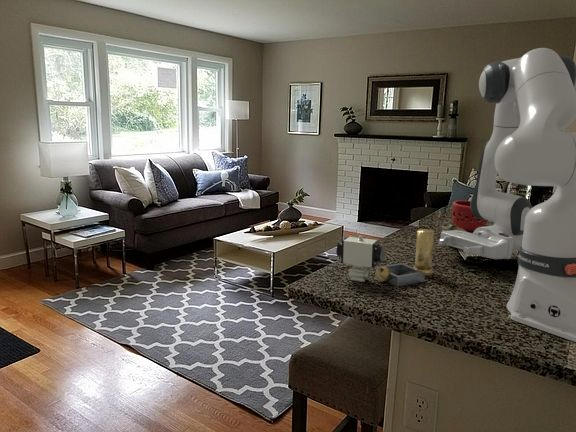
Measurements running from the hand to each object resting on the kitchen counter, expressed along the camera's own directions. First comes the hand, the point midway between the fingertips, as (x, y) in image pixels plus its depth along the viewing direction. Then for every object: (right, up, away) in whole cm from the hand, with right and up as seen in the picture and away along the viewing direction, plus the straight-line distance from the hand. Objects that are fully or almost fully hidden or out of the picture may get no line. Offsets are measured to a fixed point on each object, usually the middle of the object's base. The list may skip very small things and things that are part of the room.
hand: (452, 246), depth 126 cm
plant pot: (+21, +1, +41) cm, 46 cm away
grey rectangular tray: (-17, -8, -8) cm, 20 cm away
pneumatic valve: (-28, -8, -8) cm, 30 cm away
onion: (+10, -2, +23) cm, 25 cm away
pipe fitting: (-9, -7, -3) cm, 12 cm away
